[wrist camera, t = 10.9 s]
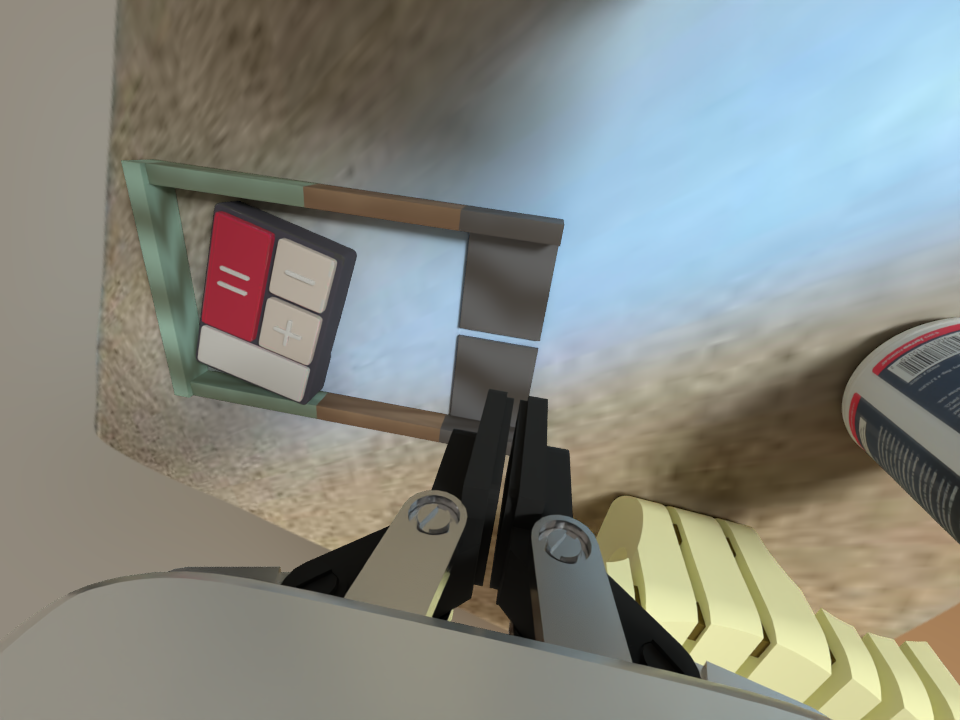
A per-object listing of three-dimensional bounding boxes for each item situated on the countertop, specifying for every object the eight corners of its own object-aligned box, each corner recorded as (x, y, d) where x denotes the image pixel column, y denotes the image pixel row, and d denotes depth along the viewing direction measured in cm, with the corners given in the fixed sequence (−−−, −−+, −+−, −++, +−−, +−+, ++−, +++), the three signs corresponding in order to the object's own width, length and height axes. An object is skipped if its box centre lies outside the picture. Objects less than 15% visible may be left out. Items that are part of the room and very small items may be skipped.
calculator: (341, 258, 34) (301, 411, 40) (362, 249, 38) (323, 389, 44) (207, 201, 34) (188, 364, 40) (242, 197, 38) (219, 346, 44)
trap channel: (152, 159, 36) (121, 160, 34) (563, 219, 34) (564, 226, 31) (196, 380, 46) (174, 394, 43) (519, 440, 43) (517, 460, 40)
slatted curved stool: (845, 533, 42) (1020, 767, 26) (765, 631, 50) (864, 861, 34) (538, 456, 44) (530, 634, 28) (504, 563, 51) (481, 752, 35)
